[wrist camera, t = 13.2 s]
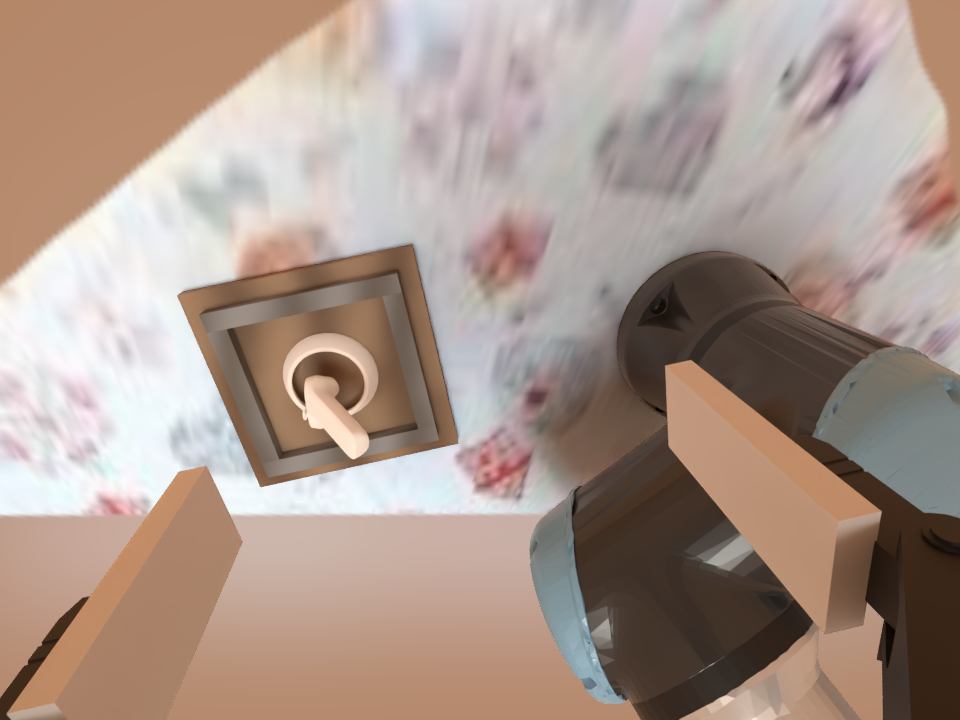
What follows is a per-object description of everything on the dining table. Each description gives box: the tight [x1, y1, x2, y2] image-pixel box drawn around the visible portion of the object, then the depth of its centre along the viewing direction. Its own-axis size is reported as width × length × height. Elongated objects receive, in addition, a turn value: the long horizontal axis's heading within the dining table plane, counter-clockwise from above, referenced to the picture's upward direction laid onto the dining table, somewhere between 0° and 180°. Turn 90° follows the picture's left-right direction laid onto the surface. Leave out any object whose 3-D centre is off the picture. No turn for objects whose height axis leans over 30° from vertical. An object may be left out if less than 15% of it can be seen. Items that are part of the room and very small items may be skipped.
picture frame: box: [177, 245, 458, 487], centre depth 43 cm, size 18×18×2 cm
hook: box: [283, 333, 378, 459], centre depth 41 cm, size 8×12×7 cm
